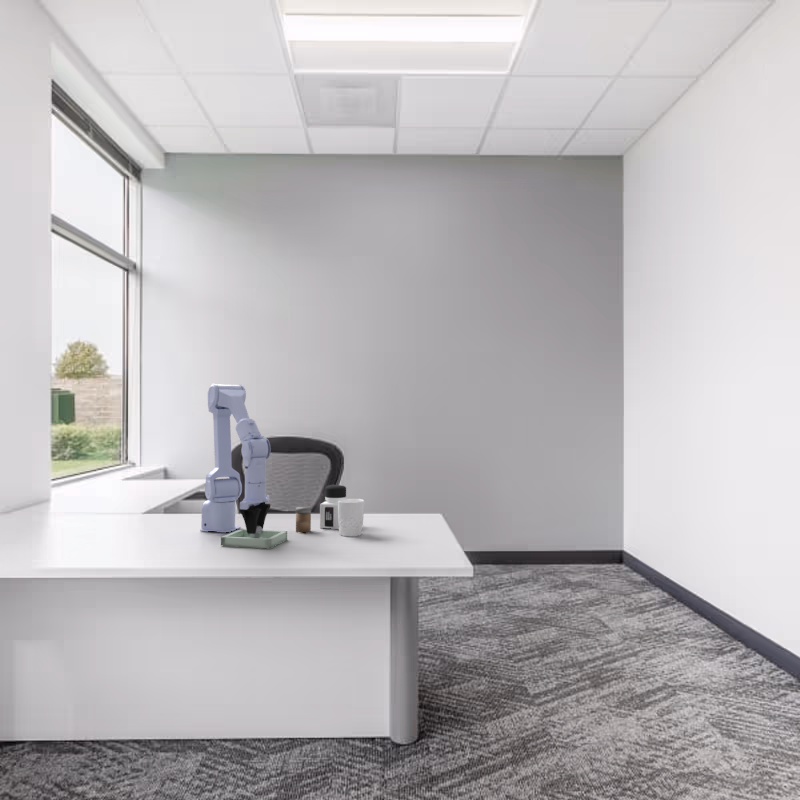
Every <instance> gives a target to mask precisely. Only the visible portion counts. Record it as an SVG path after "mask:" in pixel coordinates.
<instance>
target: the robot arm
mask: <svg viewBox="0 0 800 800" xmlns="http://www.w3.org/2000/svg"><path fill="white" fill-rule="evenodd" d="M246 398H247V392H246V388H245V386H244V385H243V384H219V383H218V384H216V383H212V384H211V385H210V386H209V388H208V391H207V407H208V412H209V413H211V414H212V418H213V447H214V448H213V449H214V452H213V453H214V468H213V469H212V470H211V471H209V473H208V474H206V475H205V484H204V495H205V497H206V499H207V500H205V501H204V502H203V504H202V506H201V528H200V530H199V531H200V532H208V531H217V532H216V533H226V532H229V533H232V532H235V531H237V530H240V529H242V527H241V525H239V526H238V525H236V501H238V500H239V499H238V498H240V496H241V494H242V492H243V483H242V481H241V475H240V473H239V472H238V471H237V470H236V469H234V468H233V464H232V459H233V458H232V438H231V437H232V435H231V431H232V430H231V416H232V417H233V418H234V419H235V420H234V421H236V423H237V424H236V426H235V431H236V434H237V436H238V438H239V441H240V442H241V449H240V450H241V451H240V453H241V456H242V463H243V466H244V498H243V500H242V501H240V502H239V512H240V514H241V515H242V518H243V521H244V524H245V525H244V526H245V529H247V533H248V534H255V533H256V529H257V525H260V526H261V527H262V529H263V530H264V525H265V521H266V517H267V515H268V512H269V510H270V508H271V503H269V502H271V499H270V494H267V460H268V459H269V458H270V454H271V443H270V440H269V439H268V438H266V437H265V436H264V435H262V434H261V432H260V430H259V428H258V426H257V423H256V421H255V420H254V419H252V418H250V416H249V412H248V410H247V407H246V404H245V403H246ZM236 529H237V530H236ZM231 531H232V532H231Z"/></svg>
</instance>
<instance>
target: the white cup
mask: <svg viewBox="0 0 800 800" xmlns="http://www.w3.org/2000/svg"><path fill="white" fill-rule="evenodd" d="M364 511H365V500H364V499H362V498H346V499H340V500H338V524H339V529H338V535H339V536H341V535H343V536H342V537H358V535H359V536H361V535H363V526H364Z"/></svg>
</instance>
